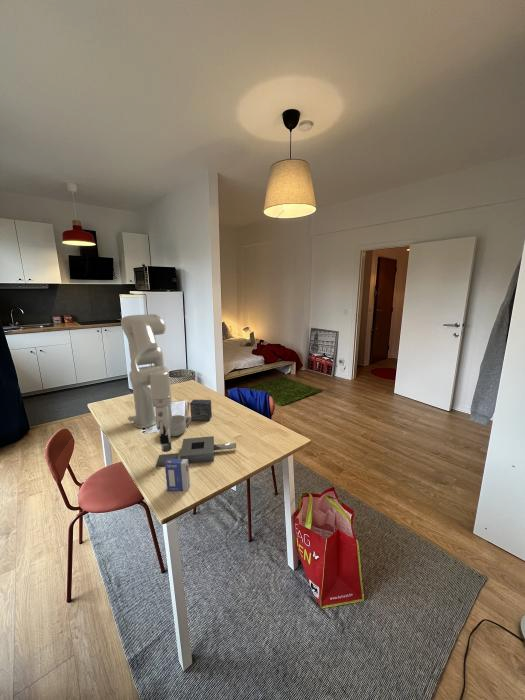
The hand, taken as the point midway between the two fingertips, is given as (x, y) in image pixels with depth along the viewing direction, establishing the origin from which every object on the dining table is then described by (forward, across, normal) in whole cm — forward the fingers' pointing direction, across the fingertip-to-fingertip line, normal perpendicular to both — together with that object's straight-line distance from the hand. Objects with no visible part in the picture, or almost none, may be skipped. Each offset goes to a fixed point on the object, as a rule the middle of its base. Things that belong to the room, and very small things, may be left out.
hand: (165, 440), depth 122 cm
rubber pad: (+10, 0, 0) cm, 10 cm away
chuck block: (+10, +3, -18) cm, 21 cm away
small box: (+10, +38, -13) cm, 42 cm away
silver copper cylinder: (+4, 0, 0) cm, 4 cm away
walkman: (+10, -19, -7) cm, 22 cm away
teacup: (+10, +24, -2) cm, 26 cm away
